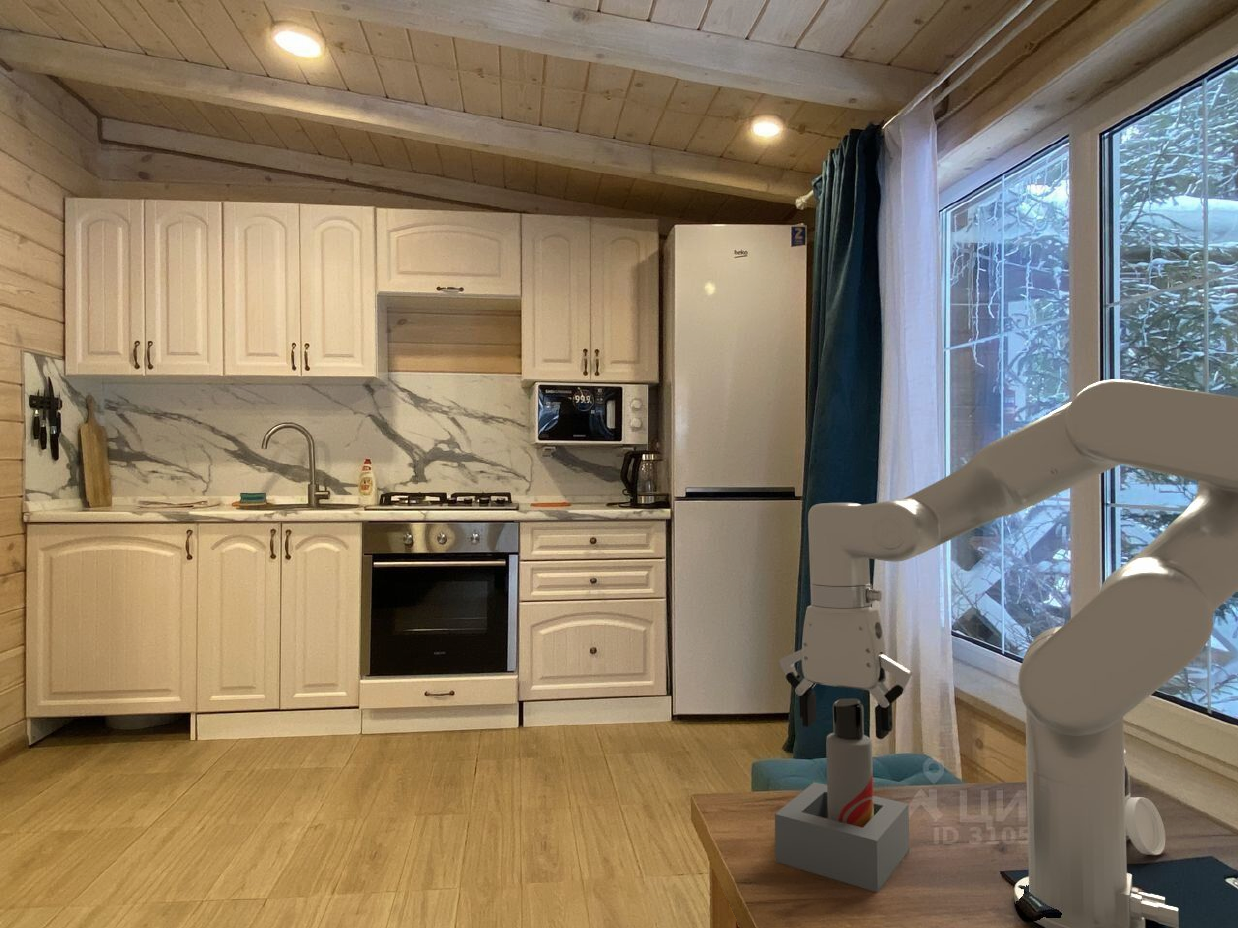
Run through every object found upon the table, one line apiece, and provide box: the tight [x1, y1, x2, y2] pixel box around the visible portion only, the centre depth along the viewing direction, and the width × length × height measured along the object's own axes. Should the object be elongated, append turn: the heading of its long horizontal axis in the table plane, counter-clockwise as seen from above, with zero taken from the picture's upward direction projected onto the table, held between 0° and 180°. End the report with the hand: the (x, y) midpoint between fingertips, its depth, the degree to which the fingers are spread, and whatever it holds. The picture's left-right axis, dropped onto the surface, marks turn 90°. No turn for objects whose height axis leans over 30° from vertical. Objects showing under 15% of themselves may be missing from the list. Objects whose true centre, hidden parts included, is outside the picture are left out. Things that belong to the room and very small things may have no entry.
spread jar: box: [1124, 749, 1166, 856], centre depth 105 cm, size 12×11×12 cm
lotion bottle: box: [825, 698, 874, 828], centre depth 100 cm, size 6×6×20 cm
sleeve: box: [774, 781, 910, 893], centre depth 100 cm, size 13×13×6 cm
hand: (845, 729), depth 101 cm, fingers open, 9 cm apart
